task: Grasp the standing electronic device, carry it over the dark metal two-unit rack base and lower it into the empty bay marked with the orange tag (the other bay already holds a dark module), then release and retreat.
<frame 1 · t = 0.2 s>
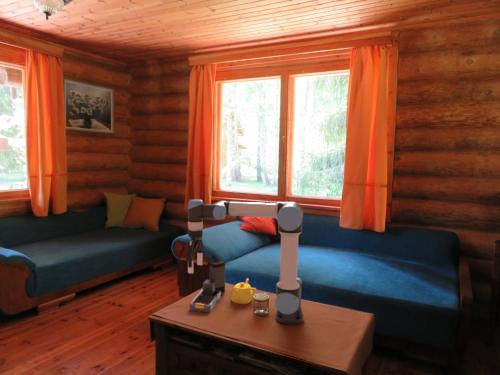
hand: (195, 268, 192), 28 cm above the table, fingers open, 13 cm apart
rack: (205, 303, 216), on the table
teapot: (244, 300, 221), on the table
electronic device: (217, 293, 232), on the table
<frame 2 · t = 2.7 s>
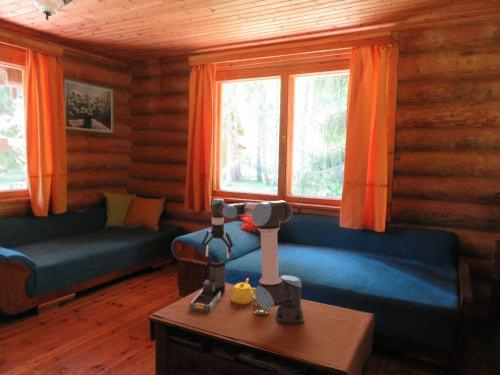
hand: (217, 256, 230), 24 cm above the table, fingers open, 13 cm apart
nothing on the table moved.
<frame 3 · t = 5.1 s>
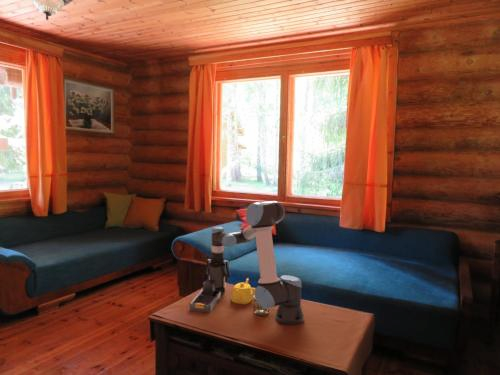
hand: (217, 286, 231), 4 cm above the table, fingers closed on electronic device, 9 cm apart
electronic device: (217, 293, 232), on the table, touching gripper
everything else where it was.
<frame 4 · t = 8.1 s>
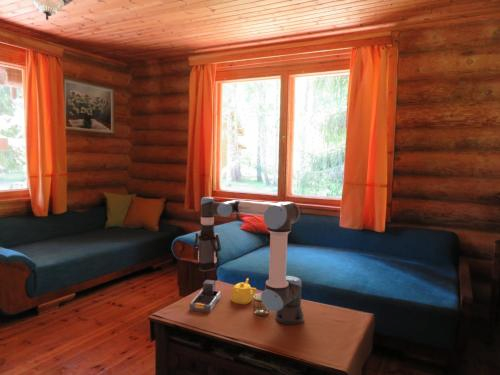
hand: (207, 261, 214), 25 cm above the table, fingers closed on electronic device, 9 cm apart
electronic device: (207, 269, 214), point 21 cm above the table, touching gripper
everything else where it was.
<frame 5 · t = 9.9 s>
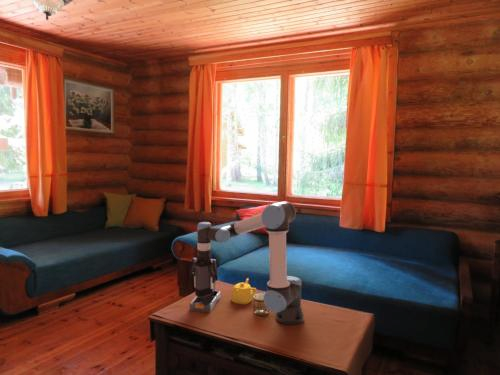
hand: (203, 287, 211), 11 cm above the table, fingers closed on electronic device, 9 cm apart
electronic device: (203, 295, 211), point 7 cm above the table, touching gripper
everything else where it was.
when the fingers open (7 cm above the table, at t = 11.2 s): electronic device drops 1 cm, resting on rack.
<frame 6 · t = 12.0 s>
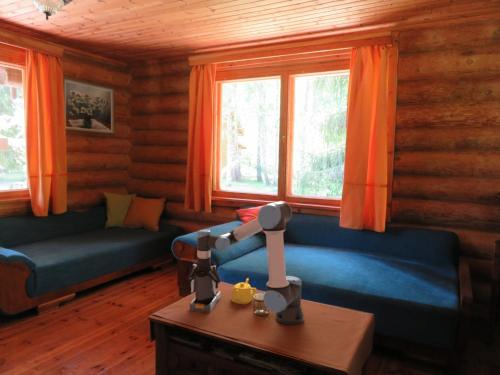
hand: (203, 292, 211), 8 cm above the table, fingers open, 13 cm apart
electronic device: (203, 305, 212), point 1 cm above the table, touching rack
everything else where it was.
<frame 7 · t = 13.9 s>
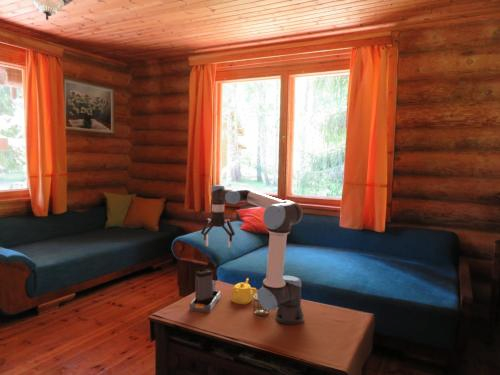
hand: (218, 246, 218), 33 cm above the table, fingers open, 13 cm apart
nothing on the table moved.
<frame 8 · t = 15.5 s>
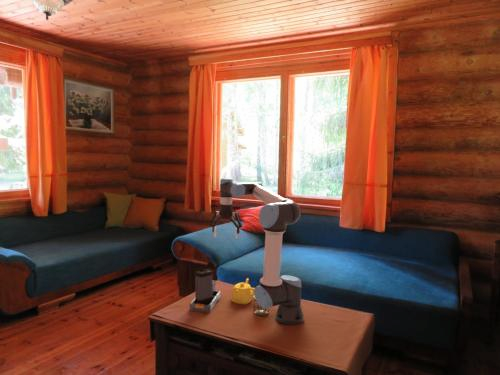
hand: (225, 238, 224), 37 cm above the table, fingers open, 13 cm apart
nothing on the table moved.
at the end: electronic device inside the target area on the rack (0.1 cm from its centre), point 0.8 cm above the rack's base; electronic device tilted 0°; the gripper is holding nothing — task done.
